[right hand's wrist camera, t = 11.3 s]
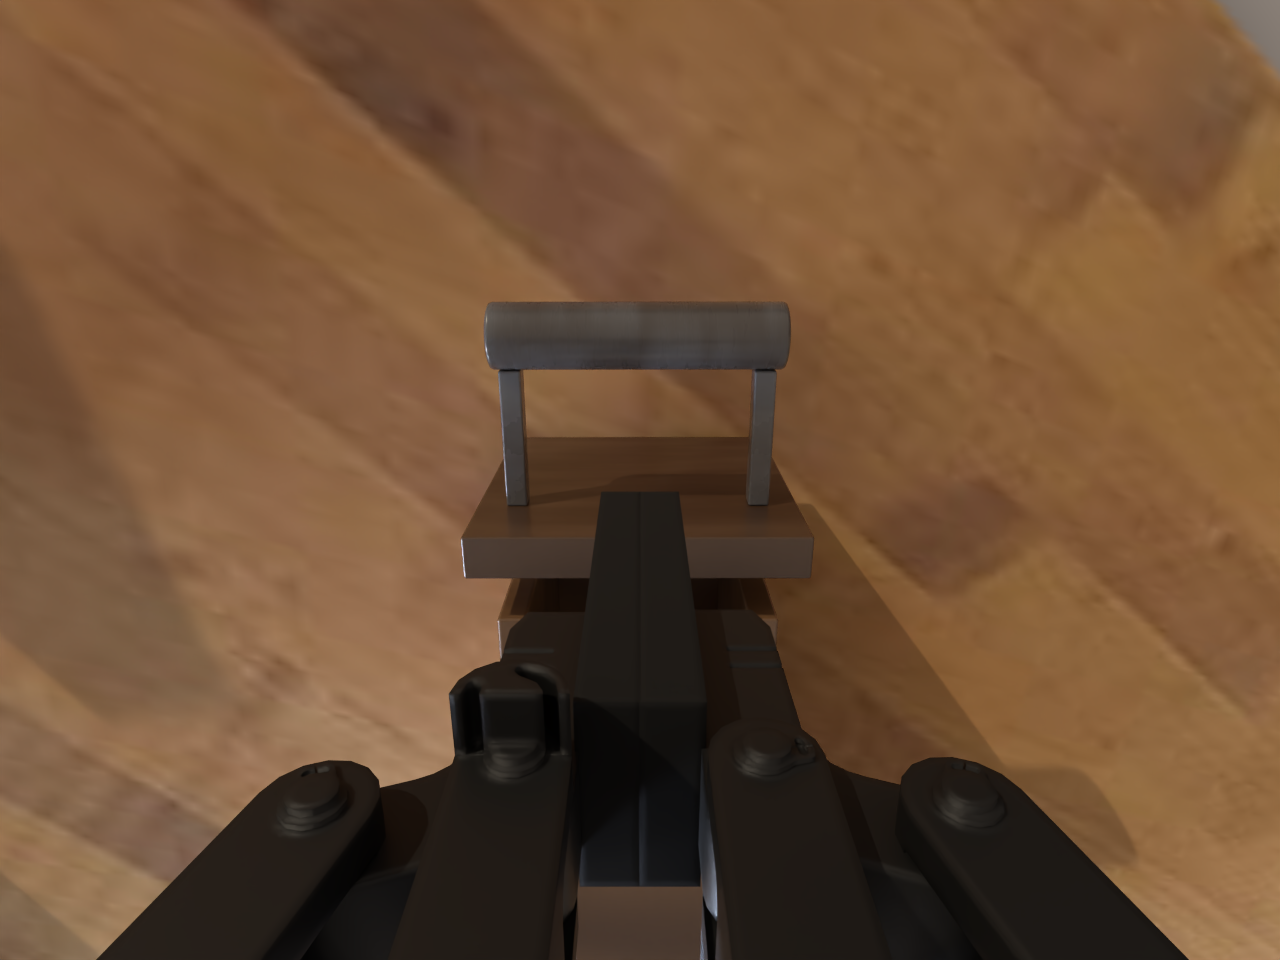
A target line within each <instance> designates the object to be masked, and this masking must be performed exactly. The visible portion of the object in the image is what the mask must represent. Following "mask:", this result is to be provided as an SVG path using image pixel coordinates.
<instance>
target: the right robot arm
mask: <svg viewBox="0 0 1280 960" xmlns="http://www.w3.org/2000/svg"><path fill="white" fill-rule="evenodd" d="M449 700H450V710H451V720H452V729H453V739H454V749H455V757H454V760H453V763H452V764H451V765H450V766H448V767H446V768H444V769H442V770H440V771H438V772H436V773H434V774H431V775H428V776H425V777H422V778H419V779H416V780H412V781H407V782H403V783H399V784H395V785H390V786H386V787H382V788H380V785H379V780H378V779H377V777H376V776H375V775H374V774H373V773H372V771H371V770H370V769H369V768H368V767H365V766H363V765H360V764H357V763H355V762H352V761H333V760H328V761H323V762H319V763H314V764H310V765H305V766H302V767H300V768H298V769H296V770H294V771H291V772H289V773H287V774H285V775H283V776H281V777H279V778H278V779H276V780H275V781H274V782H272V783H271V784H270V785H269V786H267V787H266V788H265V789H263V790H262V791H261V792H260V793H259V794H258V795H257V796H256V797H255V798H254V799H253V800H252V801H251V802H250V803H249V804H248V805H247V806H246V807H245V808H244V809H243V810H242V811H241V812H240V813H239V814H238V815H237V816H236V817H235V818H234V819H233V820H232V821H231V822H230V823H229V824H228V825H227V826H226V827H225V828H224V829H223V830H222V832H221V833H220V834H219V835H218V836H217V837H216V838H215V839H214V840H213V841H212V842H211V843H210V844H209V845H208V846H207V847H206V848H205V849H204V850H203V851H202V852H201V853H200V854H199V855H198V856H197V857H196V858H195V859H194V860H193V861H192V862H191V863H190V864H189V865H188V866H187V867H186V868H185V869H184V870H183V871H182V872H181V873H180V875H179V876H178V877H177V878H176V879H175V880H174V881H173V882H172V883H171V884H170V885H169V886H168V887H167V888H166V889H165V890H164V891H163V892H162V893H161V894H160V895H159V896H158V897H157V898H156V899H155V900H154V901H153V902H152V903H151V904H150V905H149V906H148V907H147V908H146V909H145V910H144V911H143V912H142V913H141V914H140V915H139V916H138V918H137V919H136V920H135V921H134V922H133V923H132V924H131V925H130V926H129V927H128V928H127V929H126V930H125V931H124V932H123V933H122V934H121V935H120V936H119V937H118V938H117V939H116V940H115V941H114V942H113V943H112V944H111V945H110V946H109V947H108V948H107V949H106V950H105V951H104V952H103V953H102V954H101V955H100V956H99V957H98V958H97V959H96V960H576V952H577V940H578V928H579V926H578V900H577V893H578V882H579V886H580V887H700V886H701V879H702V890H703V900H702V926H701V953H700V960H1189V959H1188V958H1187V957H1186V956H1185V955H1184V954H1183V953H1182V952H1181V951H1180V950H1179V949H1178V948H1177V947H1176V946H1175V945H1174V944H1173V943H1172V942H1171V941H1170V940H1169V939H1168V938H1167V937H1166V936H1165V935H1164V934H1163V933H1162V932H1161V931H1160V930H1159V929H1158V928H1157V927H1156V926H1155V925H1154V924H1153V923H1152V922H1151V921H1150V920H1149V919H1148V918H1147V917H1146V916H1145V915H1144V914H1143V913H1142V912H1141V911H1140V910H1139V909H1138V908H1137V907H1136V905H1135V904H1134V903H1133V902H1132V901H1131V900H1130V899H1129V898H1128V897H1127V896H1126V895H1125V894H1124V893H1123V892H1122V891H1121V890H1120V889H1119V888H1118V887H1117V886H1116V885H1115V884H1114V883H1113V882H1112V881H1111V880H1110V879H1109V878H1108V877H1107V876H1106V875H1105V874H1104V873H1103V872H1102V871H1101V870H1100V869H1099V868H1098V867H1097V866H1096V865H1095V864H1094V863H1093V862H1092V861H1091V860H1090V859H1089V858H1088V857H1087V856H1086V855H1085V854H1084V853H1083V852H1082V851H1081V850H1080V849H1079V848H1078V847H1077V845H1076V844H1075V843H1074V842H1073V841H1072V840H1071V839H1070V838H1069V837H1068V836H1067V835H1066V834H1065V833H1064V832H1063V831H1062V830H1061V829H1060V828H1059V827H1058V826H1057V825H1056V824H1055V823H1054V822H1053V821H1052V820H1051V819H1050V818H1049V817H1048V816H1047V815H1046V814H1045V813H1044V812H1043V811H1042V810H1041V809H1040V808H1039V807H1038V806H1037V805H1036V804H1035V803H1034V802H1033V801H1032V800H1031V799H1030V798H1029V797H1028V796H1027V795H1026V794H1025V793H1024V792H1023V791H1022V790H1021V789H1020V788H1019V787H1018V786H1016V785H1015V784H1014V783H1012V782H1011V781H1010V780H1009V779H1007V778H1006V777H1005V776H1003V775H1002V774H1001V773H998V772H996V771H994V770H992V769H990V768H988V767H985V766H983V765H981V764H979V763H976V762H972V761H967V760H963V759H958V758H954V757H941V758H928V759H925V760H923V761H920V762H917V763H915V764H912V765H911V766H910V768H909V769H908V770H907V771H906V772H905V773H904V775H903V776H902V779H901V785H899V784H894V783H890V782H886V781H881V780H877V779H873V778H869V777H865V776H861V775H858V774H855V773H852V772H849V771H846V770H844V769H842V768H840V767H838V766H836V765H834V764H832V763H830V762H829V761H828V760H827V759H826V756H825V754H824V752H823V751H822V749H821V747H820V746H819V744H818V743H817V741H816V740H815V739H814V738H813V737H811V736H810V735H809V734H807V733H806V732H805V731H803V730H802V729H801V725H800V722H799V719H798V716H797V712H796V709H795V706H794V703H793V699H792V696H791V693H790V690H789V686H788V683H787V680H786V677H785V673H784V670H783V668H782V666H781V660H780V657H779V654H778V651H776V644H775V641H774V638H773V634H772V631H771V628H770V626H769V625H768V624H767V623H765V622H764V621H763V620H762V619H761V618H760V617H759V616H758V615H757V614H756V613H755V612H754V611H753V610H695V608H694V601H693V593H692V586H691V578H690V571H689V564H688V556H687V549H686V541H685V534H684V526H683V519H682V512H681V504H680V497H679V492H601V497H600V504H599V512H598V519H597V526H596V534H595V541H594V549H593V556H592V564H591V571H590V578H589V586H588V593H587V601H586V608H585V612H528V613H527V614H526V615H525V616H524V617H523V618H521V619H520V620H519V621H518V622H517V623H516V624H515V625H514V626H513V627H512V628H511V629H510V631H509V634H508V637H507V641H506V644H505V647H504V653H503V654H502V657H501V660H500V662H495V663H492V664H489V665H486V666H483V667H480V668H477V669H475V670H473V671H472V672H470V673H469V674H467V675H466V676H464V677H463V678H461V679H460V680H458V682H457V683H456V684H455V686H454V687H453V689H452V690H451V692H450V693H449Z"/></svg>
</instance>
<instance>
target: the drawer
mask: <svg viewBox="0 0 1280 960" xmlns="http://www.w3.org/2000/svg"><path fill="white" fill-rule="evenodd" d="M790 341H791V320H790V312H789V308H788V305H787V304H786V303H785V302H491V303H489V304H488V305H487V308H486V311H485V317H484V344H485V352H486V357H487V361H488V364H489V366H490V368H492V369H494V370H499V372H498V378H499V394H500V409H501V424H502V440H503V455H504V459H503V461H502V463H501V465H500V467H499V468H498V470H497V472H496V474H495V476H494V478H493V480H492V481H491V483H490V485H489V487H488V489H487V491H486V493H485V495H484V496H483V498H482V500H481V502H480V504H479V506H478V508H477V509H476V511H475V513H474V515H473V517H472V519H471V521H470V522H469V524H468V526H467V528H466V530H465V532H464V534H463V536H462V537H461V545H462V556H463V568H464V577H465V578H512V580H511V583H510V586H509V589H508V592H507V595H506V598H505V600H504V603H503V606H502V609H501V612H500V615H499V618H498V633H499V647H500V660H501V657H502V654H503V653H504V647H505V644H506V641H507V637H508V634H509V631H510V629H511V628H512V627H513V626H514V625H515V624H516V623H517V622H518V621H519V620H520V619H521V618H523V617H524V616H525V615H526V614H527V613H528V612H585V608H586V601H587V593H588V586H589V578H590V571H591V564H592V556H593V549H594V541H595V534H596V526H597V519H598V512H599V504H600V497H601V492H679V497H680V504H681V512H682V519H683V526H684V534H685V541H686V549H687V556H688V564H689V571H690V578H691V586H692V593H693V601H694V608H695V610H753V611H754V612H755V613H756V614H757V615H758V616H759V617H760V618H761V619H762V620H763V621H764V622H765V623H767V624H768V625H769V626H770V628H771V631H772V634H773V638H774V641H775V644H776V641H777V627H778V619H777V616H776V613H775V610H774V607H773V604H772V601H771V598H770V595H769V592H768V589H767V586H766V583H765V580H764V578H810V577H811V570H812V558H813V546H814V537H813V535H812V533H811V531H810V529H809V527H808V526H807V524H806V522H805V520H804V518H803V516H802V514H801V512H800V510H799V508H798V506H797V504H796V503H795V501H794V499H793V497H792V495H791V493H790V491H789V489H788V487H787V485H786V483H785V481H784V480H783V478H782V476H781V474H780V472H779V470H778V468H777V466H776V464H775V462H774V460H773V458H772V443H773V426H774V410H775V394H776V378H777V372H776V371H775V369H783V368H784V367H785V366H786V363H787V361H788V357H789V351H790ZM593 369H752V383H751V403H750V423H749V437H605V438H527V434H526V415H525V397H524V378H523V370H593Z"/></svg>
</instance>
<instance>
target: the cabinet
mask: <svg viewBox="0 0 1280 960" xmlns="http://www.w3.org/2000/svg"><path fill="white" fill-rule="evenodd" d="M577 900H578V926H579V928H578V940H577V952H576V960H700V953H701V926H702V900H703V890H702V879H701V886H700V887H580V886H579V882H578V893H577Z"/></svg>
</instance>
